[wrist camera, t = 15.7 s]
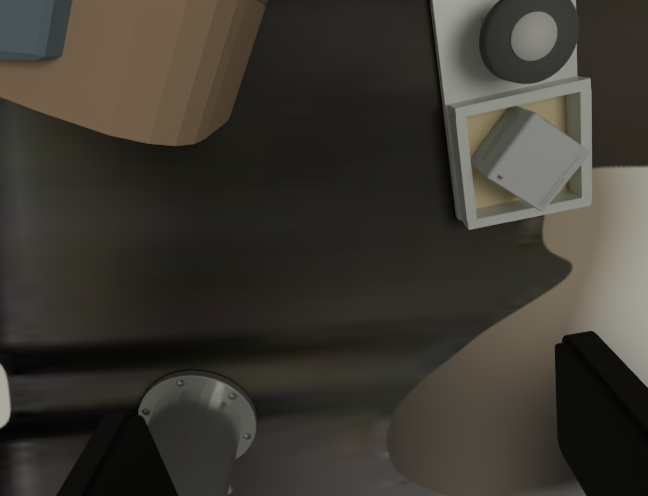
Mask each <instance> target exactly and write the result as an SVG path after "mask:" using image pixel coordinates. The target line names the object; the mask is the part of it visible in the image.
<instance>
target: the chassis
mask: <svg viewBox="0 0 648 496" xmlns="http://www.w3.org/2000/svg"><path fill="white" fill-rule="evenodd" d="M498 1H499V0H430V7H431V15H432V23H433V31H434V40H435V48H436V56H437V64H438V73H439V81H440V89H441V97H442V105H443V114H444V122H445V130H446V138H447V146H448V155H449V163H450V171H451V179H452V188H453V196H454V204H455V212H456V217H457V218H458V220H462V222H463V223H464V224H465V226H466V227H467V228H468V229H469V230H470V229H475V228H480V227H485V226H490V225H495V224H500V223H505V222H510V221H515V220H520V219H525V218H530V217H535V216H540V215H545V214H550V213H555V212H560V211H565V210H570V209H575V208H580V207H585V206H590V205H591V197H592V110H591V78H585V77H578V76H577V43H576V46H575V49H574V51H573V53H572V55H571V57H570V58H569V60H568V61H567V63H566V64H565V65H564V66H563V67H562V68H561V69H560V70H559V71H558V72H557V73H555V74H554V75H553V76H551V77H549V78H548V79H545V80H543V81H541V82H537V83H532V84H519V83H514V82H509V81H505V80H502V79H500V78H498V77H496V76H495V75H493V74H492V73H491V72H490V71H489V70H488V69H487V67H486V66H485V64H484V62H483V60H482V58H481V54H480V49H479V36H480V31H481V27H482V24H483V22H484V20H485V18H486V16H487V14H488V13H489V11H490V10H491V9H492V7H493V6H494V5H495V4H496V3H497V2H498ZM571 1H572V3H573V5H574V6H575V8H576V0H571ZM513 106H518V107H521V108H524V109H527V110H530V111H533V112H536V113H538V114H539V115H541V116H542V117H543V118H545V119H546V120H548V121H549V122H550V123H552V124H553V125H554V126H556V127H557V128H558V129H560V130H561V131H562V132H564V133H565V134H567V135H568V136H569V137H571V138H572V139H573V140H575V141H576V142H577V143H579V144H580V145H581V146H583V147H584V148H585V149H587V150H588V151H590V152H591V153H590V155H589V156H588V157H587V158H586V159H585V161H584V162H583V163H582V164H581V166H580V167H579V168H578V169H577V171H576V172H575V173H574V174H573V175H572V177H571V178H570V179H569V180H568V182H567V183H566V184H565V185H564V187H563V188H562V189H561V190H560V192H559V193H558V194H557V195H556V197H555V198H554V199H553V200H552V201H551V203H550V204H549V205H548V206H547V208H546V209H545V210H544V211H543V212H541V211H539V210H538V209H536V208H534V207H533V206H531V205H530V204H528V203H526V202H525V201H523V200H521V199H520V198H518V197H517V196H515V195H513V194H512V193H510V192H508V191H507V190H505V189H504V188H502V187H501V186H499V185H497V184H496V183H494V182H493V181H491V180H489V179H488V178H487V177H486V176H484V175H483V174H482V173H481V172H480V171H479V170H477V169H476V168H475V167H474V166H473V165H472V164H471V159H472V158H473V157H474V155H475V154H476V152H477V151H478V150H479V148H480V147H481V145H482V144H483V143H484V141H485V140H486V138H487V137H488V136H489V134H490V133H491V132H492V130H493V129H494V127H495V126H496V125H497V123H498V122H499V120H500V119H501V118H502V116H503V115H504V114H505V112H506V111H507V110H508V108H509V107H513Z"/></svg>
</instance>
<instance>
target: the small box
mask: <svg viewBox="0 0 648 496" xmlns="http://www.w3.org/2000/svg"><path fill="white" fill-rule="evenodd" d="M590 153H591V152H590V151H588V150H587V149H585V148H584V147H583V146H581V145H580V144H579V143H577V142H576V141H575V140H573V139H572V138H571V137H569V136H568V135H567V134H565V133H564V132H562V131H561V130H560V129H558V128H557V127H556V126H554V125H553V124H552V123H550V122H549V121H548V120H546V119H545V118H543V117H542V116H541V115H539V114H538V113H536V112H533V111H530V110H527V109H524V108H521V107H518V106H513V107H509V108H508V110H507V111H506V112H505V114H504V115H503V116H502V118H501V119H500V120H499V122H498V123H497V125H496V126H495V127H494V129H493V130H492V132H491V133H490V134H489V136H488V137H487V138H486V140H485V141H484V143H483V144H482V145H481V147H480V148H479V150H478V151H477V152H476V154H475V155H474V157H473V158H472V159H471V164H472V165H473V166H474V167H475V168H476V169H477V170H479V171H480V172H481V173H482V174H483V175H484V176H486V177H487V178H488V179H489V180H491V181H493V182H494V183H496V184H497V185H499V186H501V187H502V188H504V189H505V190H507V191H508V192H510V193H512V194H513V195H515V196H517V197H518V198H520V199H521V200H523V201H525V202H526V203H528V204H530V205H531V206H533V207H534V208H536V209H538V210H539V211H541V212H543V211H544V210H545V209H546V208H547V206H548V205H549V204H550V203H551V201H552V200H553V199H554V198H555V197H556V195H557V194H558V193H559V192H560V190H561V189H562V188H563V187H564V185H565V184H566V183H567V182H568V180H569V179H570V178H571V177H572V175H573V174H574V173H575V172H576V171H577V169H578V168H579V167H580V166H581V164H582V163H583V162H584V161H585V159H586V158H587V157H588V156H589V155H590Z"/></svg>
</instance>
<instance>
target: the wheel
mask: <svg viewBox="0 0 648 496" xmlns="http://www.w3.org/2000/svg"><path fill="white" fill-rule="evenodd" d="M578 35H579V19H578V14H577V11H576V8H575V6H574V5H573V3H572V1H571V0H499V1H498V2H497V3H496V4H495V5H494V6H493V7H492V9H491V10H490V11H489V13H488V14H487V16H486V18H485V20H484V22H483V24H482V27H481V31H480V36H479V49H480V54H481V58H482V60H483V62H484V64H485V66H486V67H487V69H488V70H489V71H490V72H491V73H492V74H493V75H495V76H496V77H498V78H500V79H502V80H505V81H509V82H514V83H519V84H532V83H537V82H541V81H543V80H545V79H548V78H549V77H551V76H553V75H554V74H555V73H557V72H558V71H559V70H560V69H561V68H562V67H563V66H564V65H565V64H566V63H567V61H568V60H569V58H570V57H571V55H572V53H573V51H574V49H575V46H576V43H577V40H578Z"/></svg>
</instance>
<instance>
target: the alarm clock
mask: <svg viewBox="0 0 648 496" xmlns="http://www.w3.org/2000/svg"><path fill="white" fill-rule="evenodd" d="M267 1H268V0H0V97H2V98H4V99H7V100H10V101H12V102H15V103H17V104H20V105H22V106H25V107H28V108H30V109H33V110H36V111H39V112H42V113H44V114H47V115H50V116H53V117H56V118H59V119H62V120H65V121H68V122H71V123H74V124H77V125H80V126H83V127H86V128H89V129H92V130H95V131H98V132H101V133H104V134H107V135H110V136H115V137H120V138H124V139H129V140H134V141H138V142H143V143H148V144H157V145H168V146H181V145H190V144H195V143H197V142H200V141H202V140H204V139H205V138H207V137H208V136H209V135H211V134H212V133H213V132H214V131H216V130H217V129H218V128H219V127H221V126H222V125H223V124H224V123H226V122H227V121H228V119H229V117H230V115H231V112H232V109H233V106H234V103H235V99H236V96H237V93H238V90H239V87H240V84H241V81H242V78H243V75H244V72H245V69H246V66H247V63H248V60H249V57H250V54H251V50H252V47H253V44H254V41H255V38H256V35H257V32H258V29H259V26H260V23H261V20H262V17H263V14H264V11H265V8H266V7H265V6H264V5H265V4H267Z"/></svg>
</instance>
